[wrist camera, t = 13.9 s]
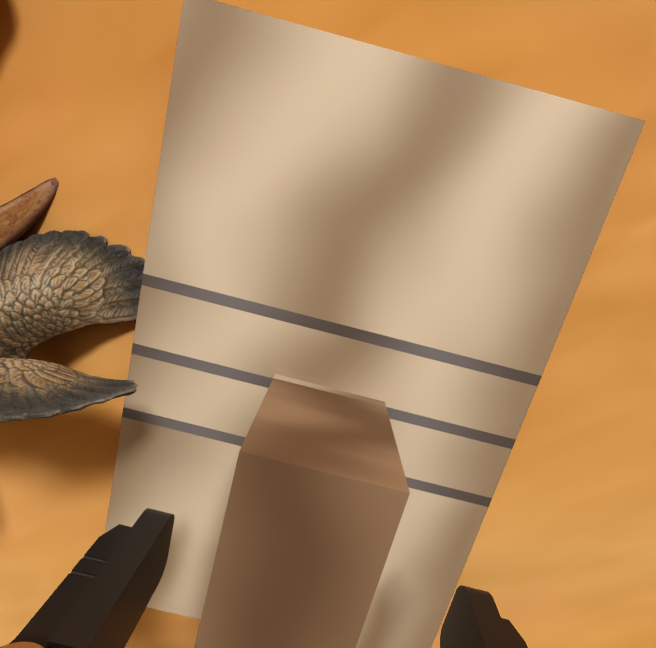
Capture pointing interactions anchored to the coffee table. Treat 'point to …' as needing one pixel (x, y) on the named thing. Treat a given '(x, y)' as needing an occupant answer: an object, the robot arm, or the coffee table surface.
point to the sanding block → (305, 522)
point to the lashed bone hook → (25, 211)
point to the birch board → (352, 280)
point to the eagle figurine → (60, 317)
